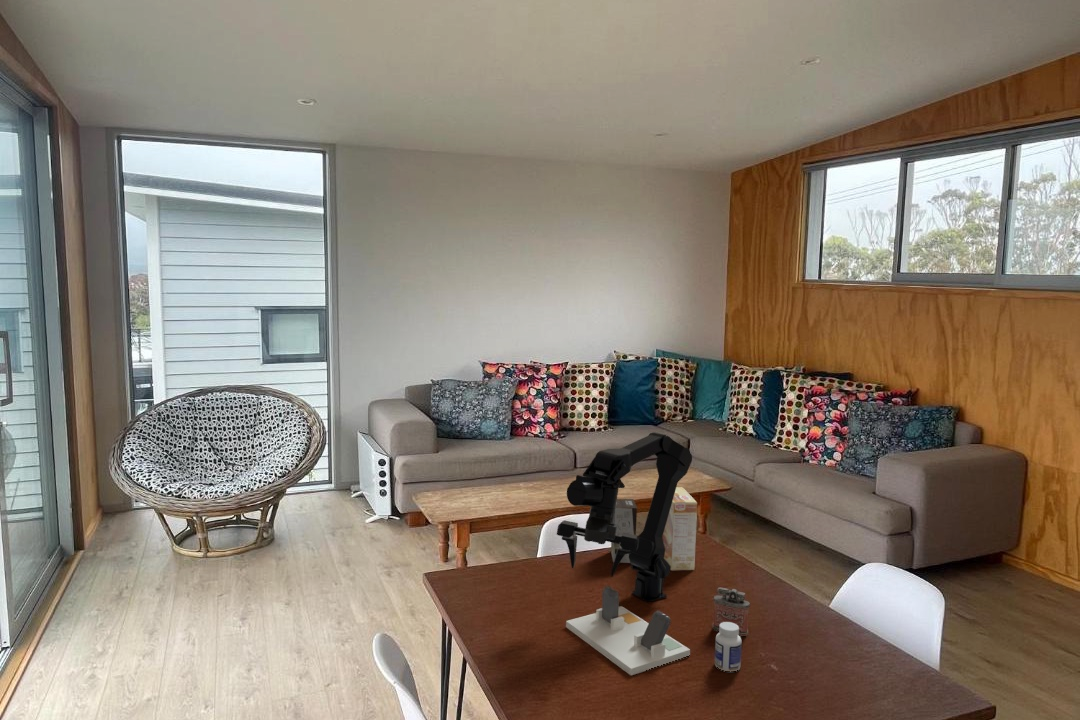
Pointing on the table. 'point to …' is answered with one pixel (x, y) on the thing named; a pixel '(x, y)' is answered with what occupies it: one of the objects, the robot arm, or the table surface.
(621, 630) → the breaker panel
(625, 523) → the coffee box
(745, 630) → the lighter
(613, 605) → the breaker lever
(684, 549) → the coffeecake box
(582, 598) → the table surface
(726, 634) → the pill bottle
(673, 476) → the robot arm
